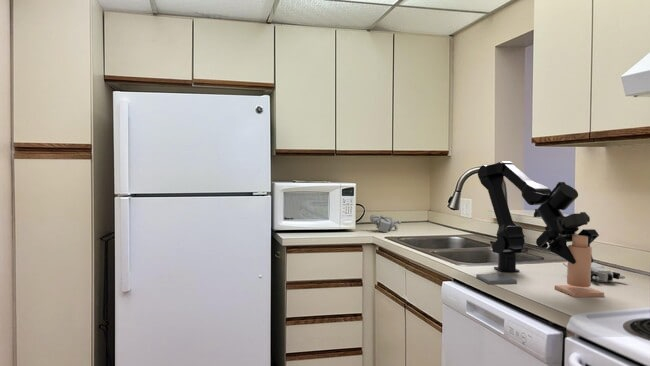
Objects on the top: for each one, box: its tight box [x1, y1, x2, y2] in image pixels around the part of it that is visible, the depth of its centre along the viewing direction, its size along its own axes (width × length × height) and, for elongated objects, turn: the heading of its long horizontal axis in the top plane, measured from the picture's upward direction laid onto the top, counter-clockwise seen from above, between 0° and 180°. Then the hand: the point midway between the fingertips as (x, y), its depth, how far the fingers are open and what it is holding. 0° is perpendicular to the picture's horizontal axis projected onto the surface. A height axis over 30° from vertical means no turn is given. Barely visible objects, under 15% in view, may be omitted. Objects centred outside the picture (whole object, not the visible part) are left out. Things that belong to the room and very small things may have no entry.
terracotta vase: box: [566, 235, 593, 288], centre depth 134 cm, size 6×6×14 cm
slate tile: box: [476, 273, 518, 285], centre depth 148 cm, size 9×9×1 cm
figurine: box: [369, 214, 402, 234], centre depth 264 cm, size 11×13×18 cm
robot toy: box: [562, 261, 626, 283], centre depth 152 cm, size 12×4×15 cm
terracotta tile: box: [554, 284, 605, 298], centre depth 134 cm, size 9×9×1 cm
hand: (583, 262), depth 132 cm, fingers closed on terracotta vase, 6 cm apart
